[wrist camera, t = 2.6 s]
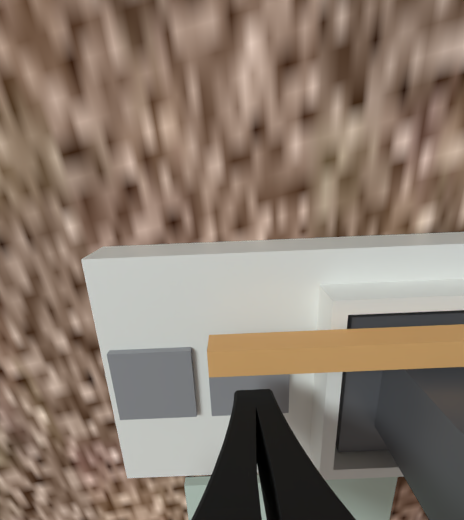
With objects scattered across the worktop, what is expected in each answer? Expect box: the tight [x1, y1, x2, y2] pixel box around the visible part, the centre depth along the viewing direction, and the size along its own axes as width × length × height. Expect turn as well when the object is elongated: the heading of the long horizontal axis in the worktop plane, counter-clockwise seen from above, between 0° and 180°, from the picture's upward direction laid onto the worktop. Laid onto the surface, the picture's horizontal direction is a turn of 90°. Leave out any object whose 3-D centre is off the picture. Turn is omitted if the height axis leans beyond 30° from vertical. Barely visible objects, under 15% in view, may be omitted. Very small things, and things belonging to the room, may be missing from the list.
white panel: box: [81, 232, 464, 480], centre depth 13 cm, size 24×12×4 cm, turn 92°
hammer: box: [207, 324, 464, 378], centre depth 10 cm, size 18×2×3 cm, turn 92°
